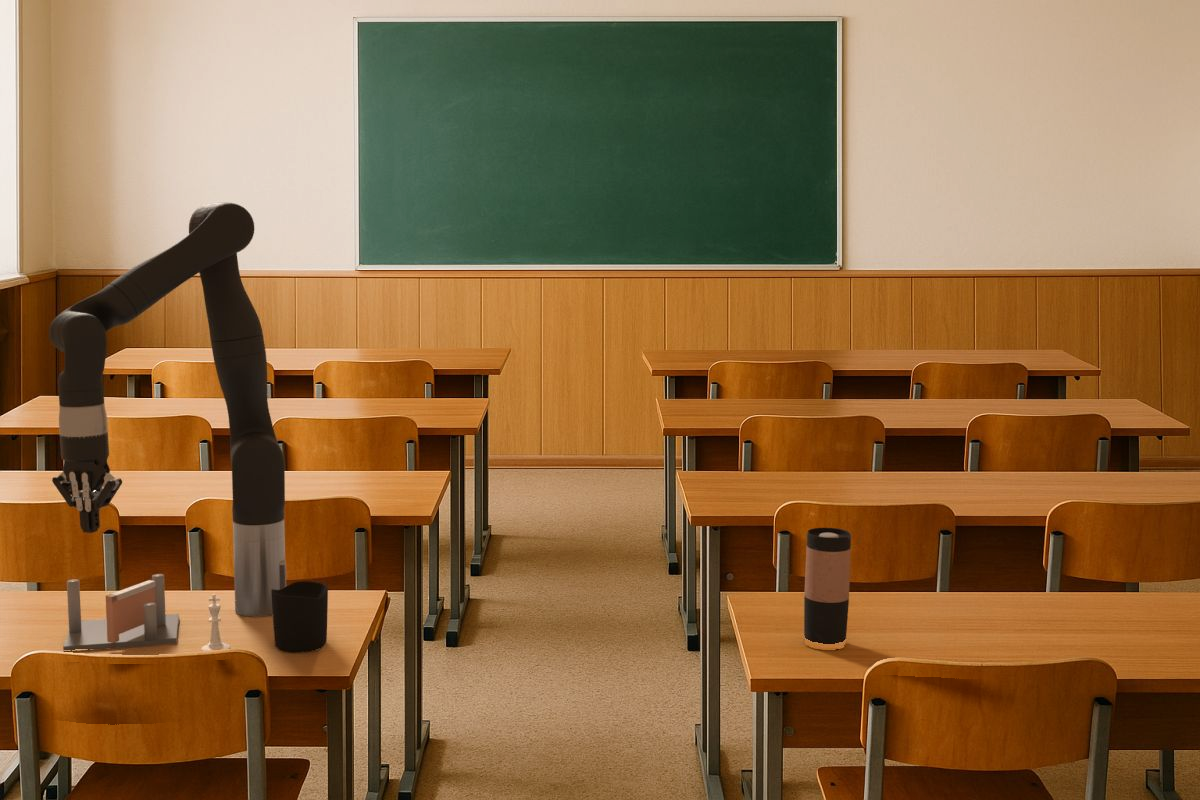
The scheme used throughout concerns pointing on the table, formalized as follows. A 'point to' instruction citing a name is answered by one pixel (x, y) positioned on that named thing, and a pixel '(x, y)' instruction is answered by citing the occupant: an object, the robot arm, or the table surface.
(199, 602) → the table surface
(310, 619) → the pen holder
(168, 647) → the table surface
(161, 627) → the gate frame
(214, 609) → the chess piece
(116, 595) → the gate
